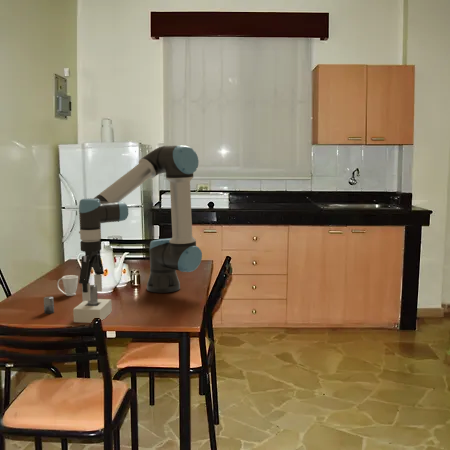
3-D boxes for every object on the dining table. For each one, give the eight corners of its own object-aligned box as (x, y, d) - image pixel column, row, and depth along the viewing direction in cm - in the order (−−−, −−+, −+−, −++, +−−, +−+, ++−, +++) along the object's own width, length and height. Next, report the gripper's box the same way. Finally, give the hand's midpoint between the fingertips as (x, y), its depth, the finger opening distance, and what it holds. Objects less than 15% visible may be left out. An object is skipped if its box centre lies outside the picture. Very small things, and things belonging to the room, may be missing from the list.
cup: (73, 297, 233) (72, 279, 232) (53, 295, 235) (52, 277, 234) (82, 293, 239) (81, 275, 238) (62, 291, 242) (61, 274, 241)
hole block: (111, 311, 211) (111, 299, 211) (100, 322, 197) (99, 309, 197) (86, 311, 212) (86, 298, 211) (73, 322, 198) (73, 309, 198)
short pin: (55, 311, 212) (54, 296, 211) (51, 314, 208) (51, 298, 208) (46, 311, 212) (46, 296, 212) (42, 313, 209) (42, 298, 208)
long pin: (99, 315, 206) (98, 284, 205) (96, 318, 203) (95, 287, 201) (90, 315, 207) (89, 284, 205) (87, 318, 203) (85, 287, 202)
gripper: (92, 235, 214) (93, 287, 216) (68, 245, 189) (70, 304, 192) (110, 235, 213) (112, 287, 216) (89, 246, 188) (91, 305, 191)
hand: (92, 295), depth 204 cm, fingers open, 13 cm apart
